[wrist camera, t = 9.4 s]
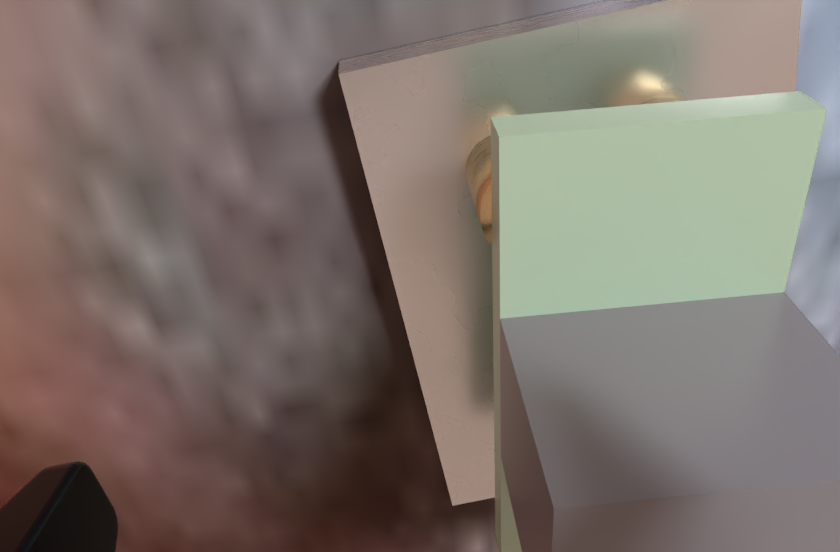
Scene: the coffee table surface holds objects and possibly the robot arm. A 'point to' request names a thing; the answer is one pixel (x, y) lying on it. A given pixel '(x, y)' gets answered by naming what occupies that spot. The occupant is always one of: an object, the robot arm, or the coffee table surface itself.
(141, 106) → the coffee table surface
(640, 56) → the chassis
